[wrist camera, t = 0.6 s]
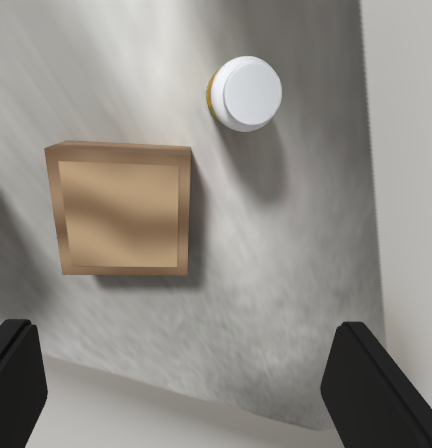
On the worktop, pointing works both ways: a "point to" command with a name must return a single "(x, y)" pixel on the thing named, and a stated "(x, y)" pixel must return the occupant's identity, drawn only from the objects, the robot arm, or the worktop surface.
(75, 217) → the pedestal
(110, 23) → the worktop surface
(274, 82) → the supplement bottle
